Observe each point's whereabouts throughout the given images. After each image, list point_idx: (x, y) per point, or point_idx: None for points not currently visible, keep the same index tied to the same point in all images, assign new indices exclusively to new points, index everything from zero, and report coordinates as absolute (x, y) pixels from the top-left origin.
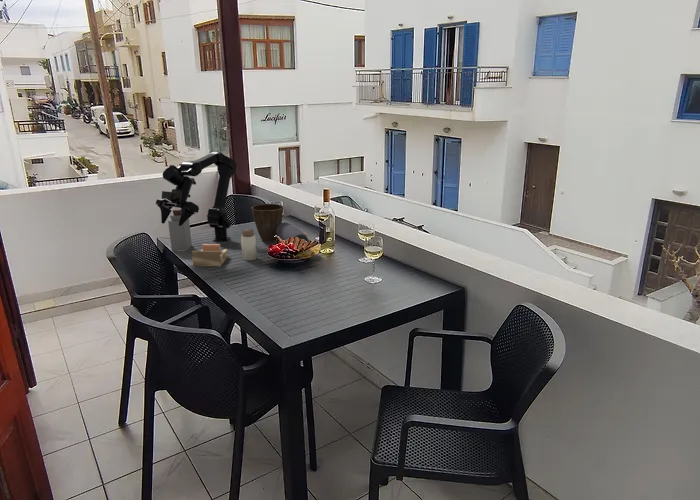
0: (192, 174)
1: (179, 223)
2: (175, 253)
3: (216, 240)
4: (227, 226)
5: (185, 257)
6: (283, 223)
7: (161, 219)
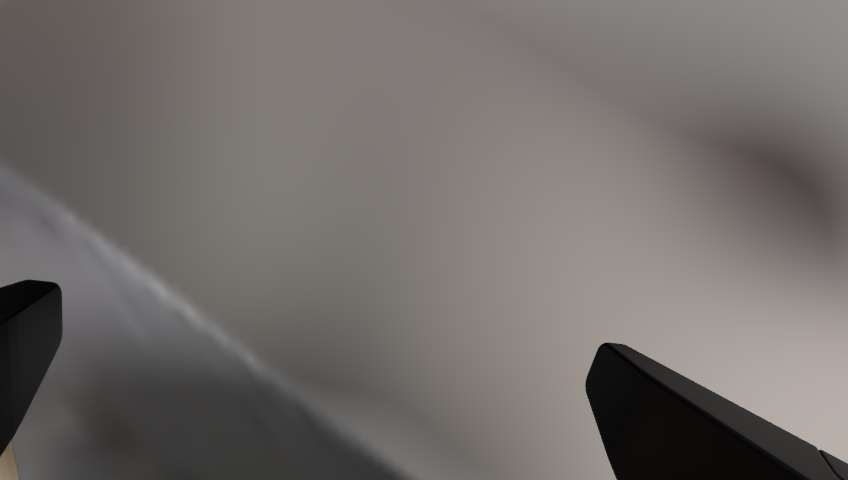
0: None
1: (3, 291)
2: (405, 476)
3: None
4: None
5: (220, 403)
6: None
7: (684, 378)
